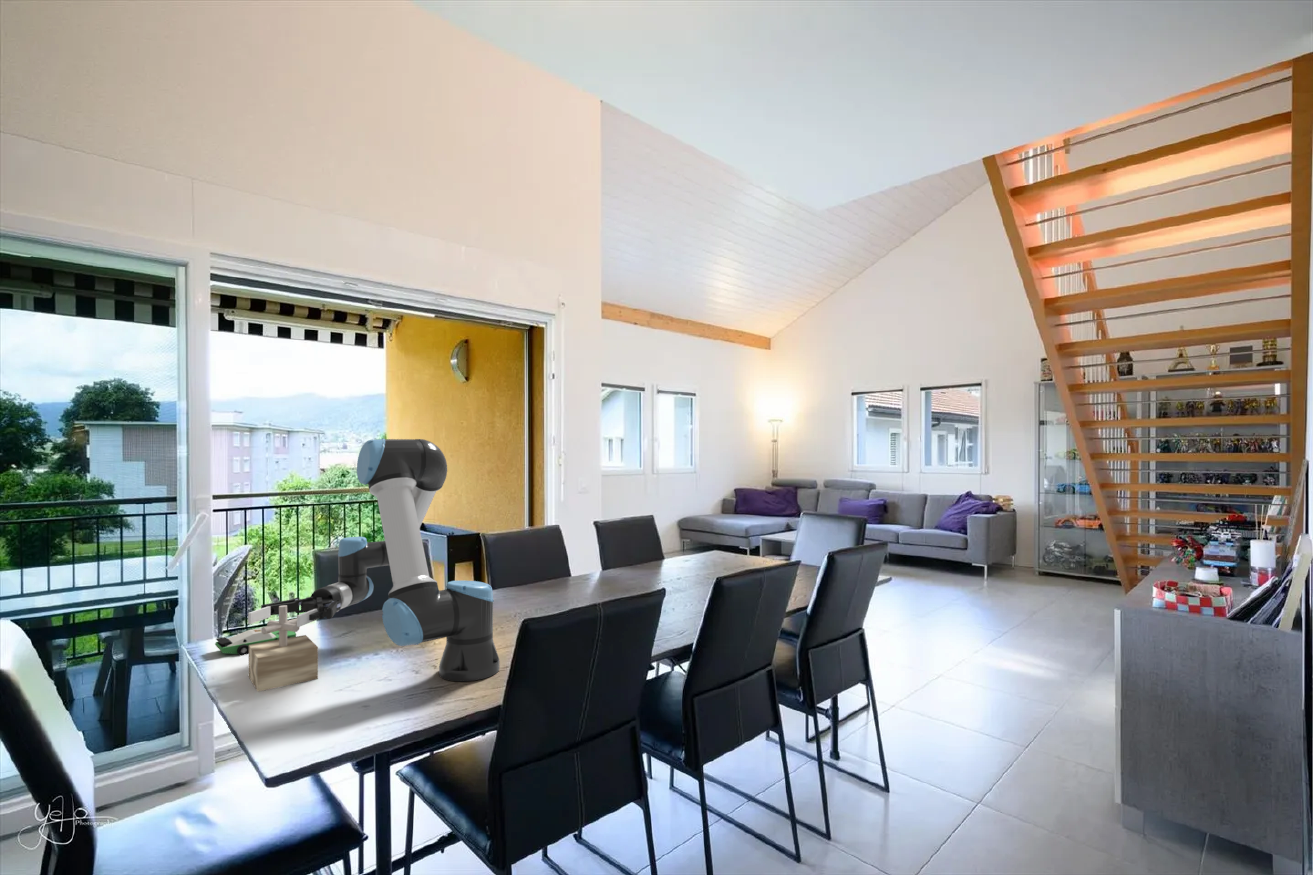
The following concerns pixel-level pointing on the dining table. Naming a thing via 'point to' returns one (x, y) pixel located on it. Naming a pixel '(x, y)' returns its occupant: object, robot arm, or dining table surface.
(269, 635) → the toy car
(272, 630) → the pipe connector
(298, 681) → the birch block
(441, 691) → the dining table surface
